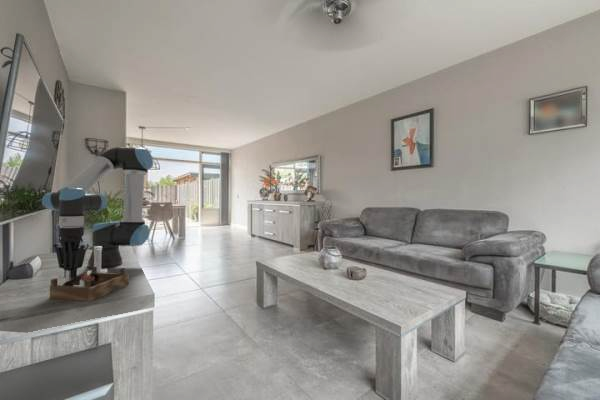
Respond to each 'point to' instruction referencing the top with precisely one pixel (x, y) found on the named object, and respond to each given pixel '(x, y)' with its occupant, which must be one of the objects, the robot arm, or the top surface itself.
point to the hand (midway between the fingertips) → (70, 285)
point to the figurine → (98, 260)
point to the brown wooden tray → (88, 293)
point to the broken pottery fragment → (84, 277)
